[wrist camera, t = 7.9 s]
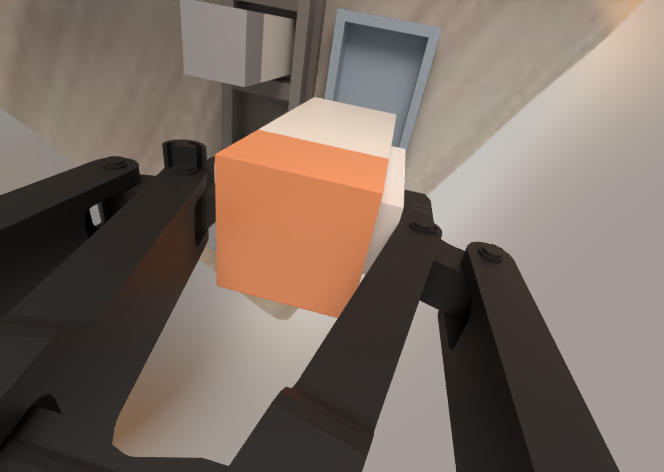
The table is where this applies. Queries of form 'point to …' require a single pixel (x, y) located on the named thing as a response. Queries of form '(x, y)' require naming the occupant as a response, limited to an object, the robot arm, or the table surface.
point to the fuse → (235, 43)
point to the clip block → (284, 92)
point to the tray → (381, 66)
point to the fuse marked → (302, 204)
